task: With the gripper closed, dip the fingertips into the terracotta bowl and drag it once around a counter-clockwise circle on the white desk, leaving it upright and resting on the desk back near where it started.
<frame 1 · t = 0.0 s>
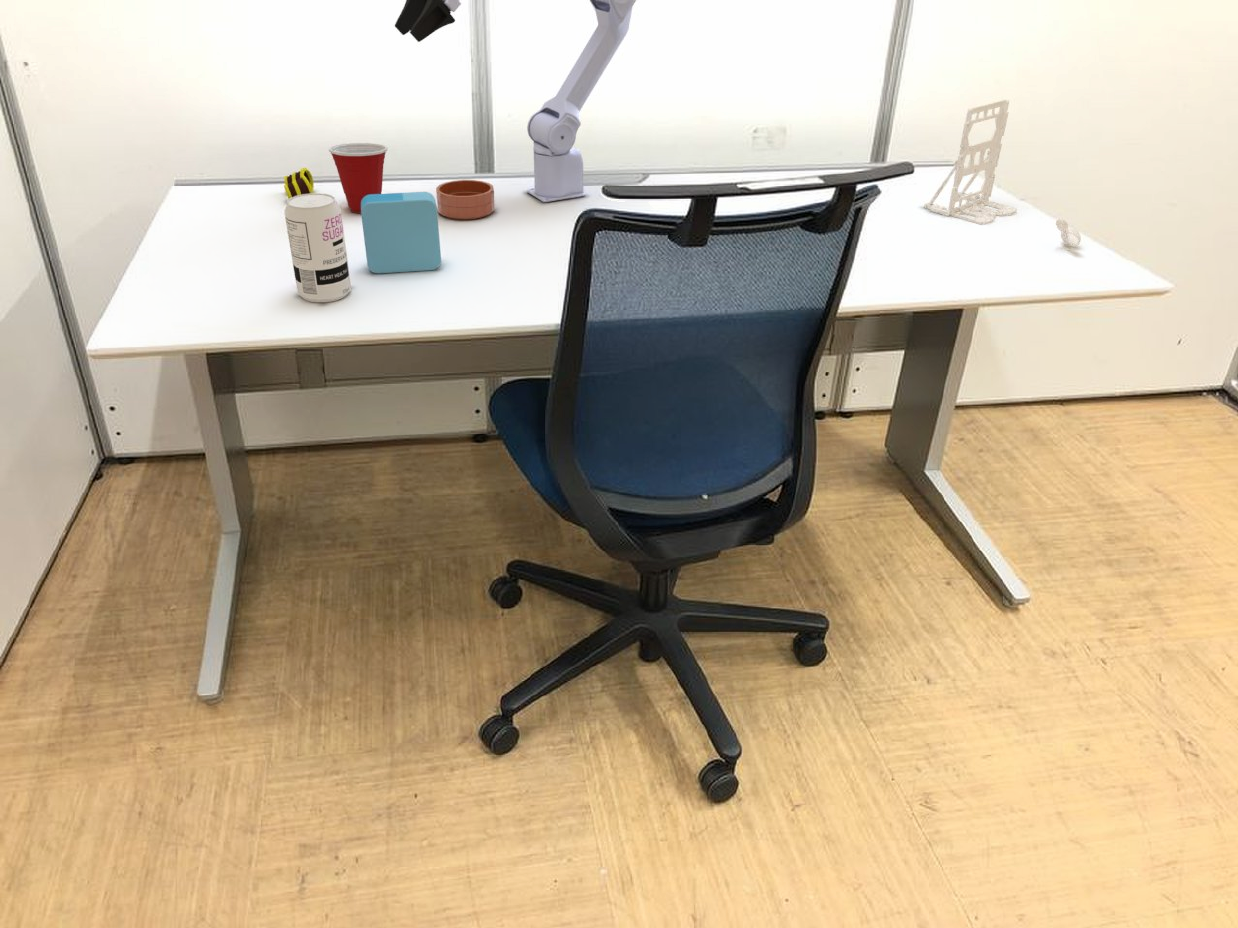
hand: (406, 34, 175), 32 cm above the table, tool tilted 50°, fingers open, 7 cm apart
opera glasses: (300, 198, 201), on the table
bowl: (466, 211, 195), on the table
rabbit figurine: (1064, 249, 182), on the table
light blue rounded block: (405, 268, 170), on the table
plastic cup: (365, 209, 195), on the table
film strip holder: (971, 211, 200), on the table
supplement can: (325, 295, 159), on the table
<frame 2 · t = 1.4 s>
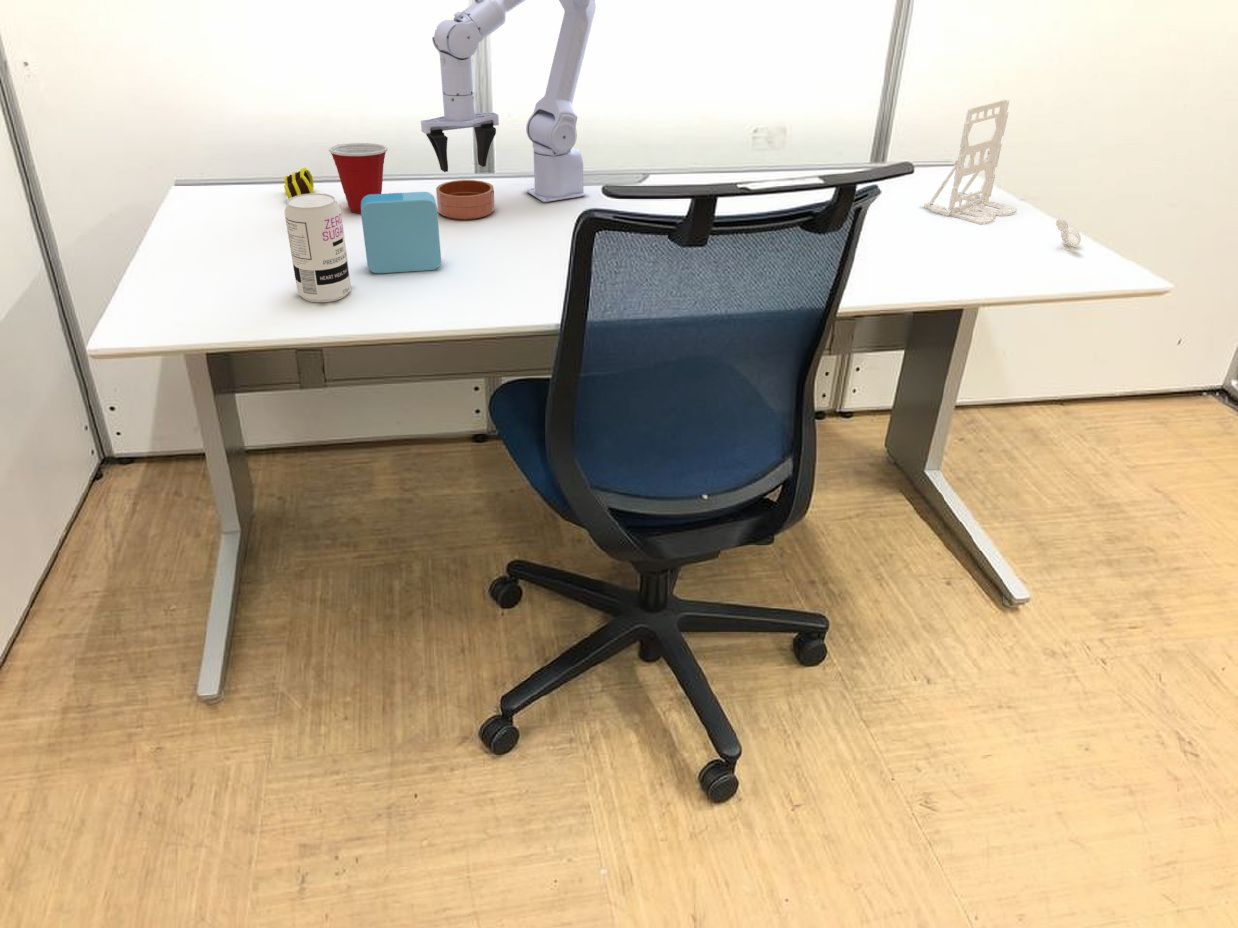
hand: (463, 168, 190), 8 cm above the table, tool pointing down, fingers open, 7 cm apart
nothing on the table moved.
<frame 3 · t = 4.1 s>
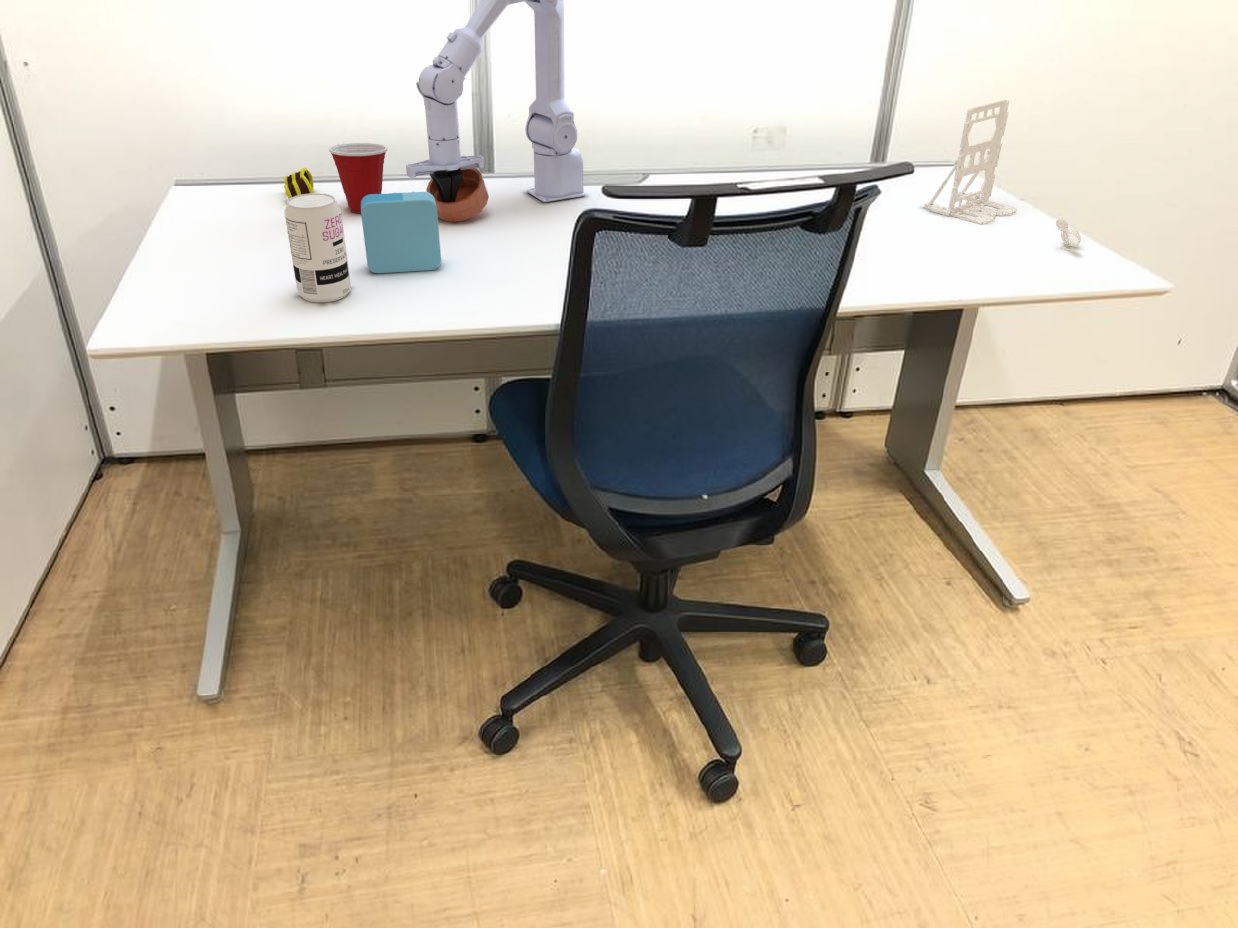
hand: (449, 210, 190), 2 cm above the table, tool pointing down, fingers closed, pressing on bowl
bowl: (461, 203, 192), point 2 cm above the table, tilted 26°, touching gripper
everything else where it was.
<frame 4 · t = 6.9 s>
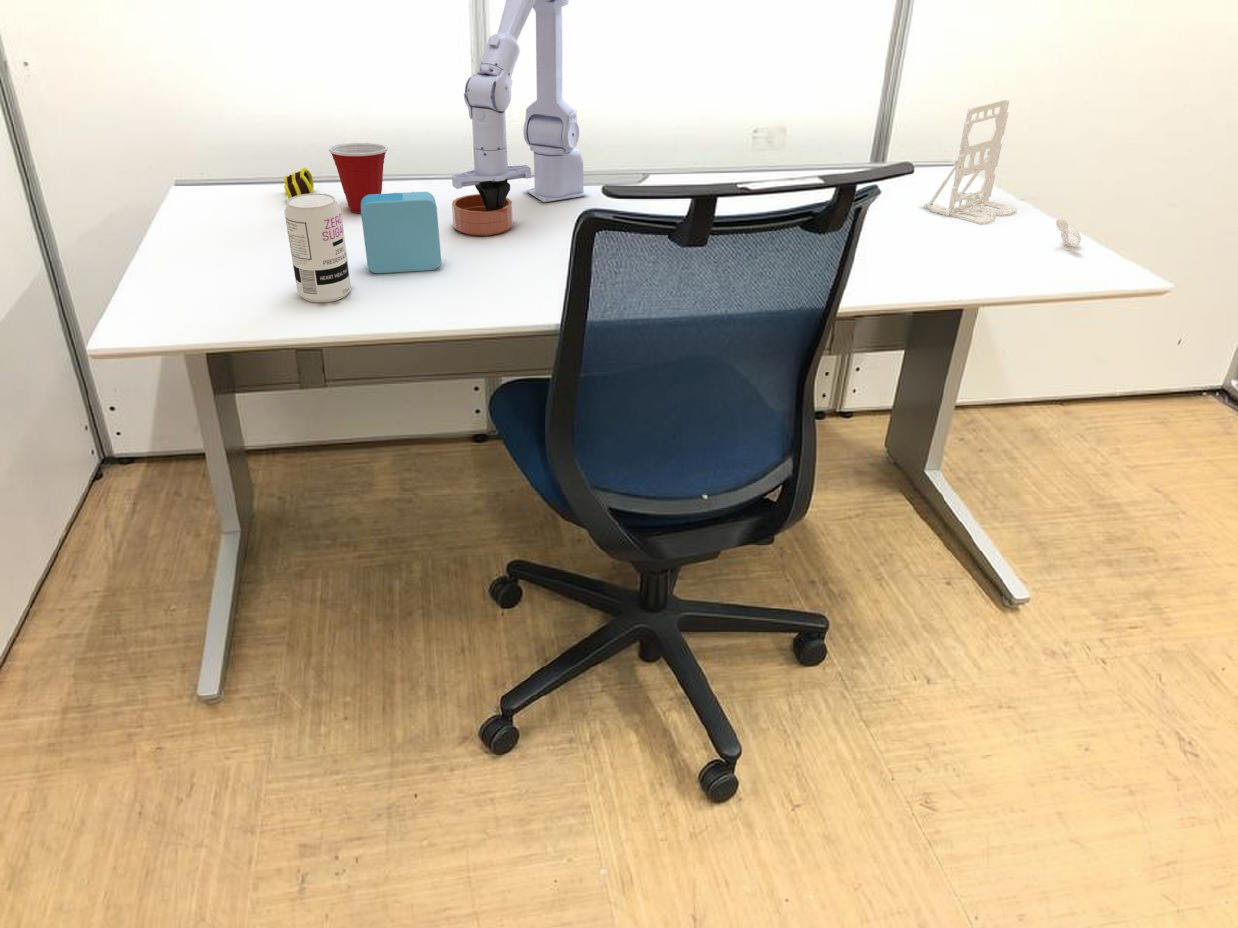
hand: (494, 221, 185), 2 cm above the table, tool pointing down, fingers closed
bowl: (483, 227, 187), on the table, touching gripper
everything else where it was.
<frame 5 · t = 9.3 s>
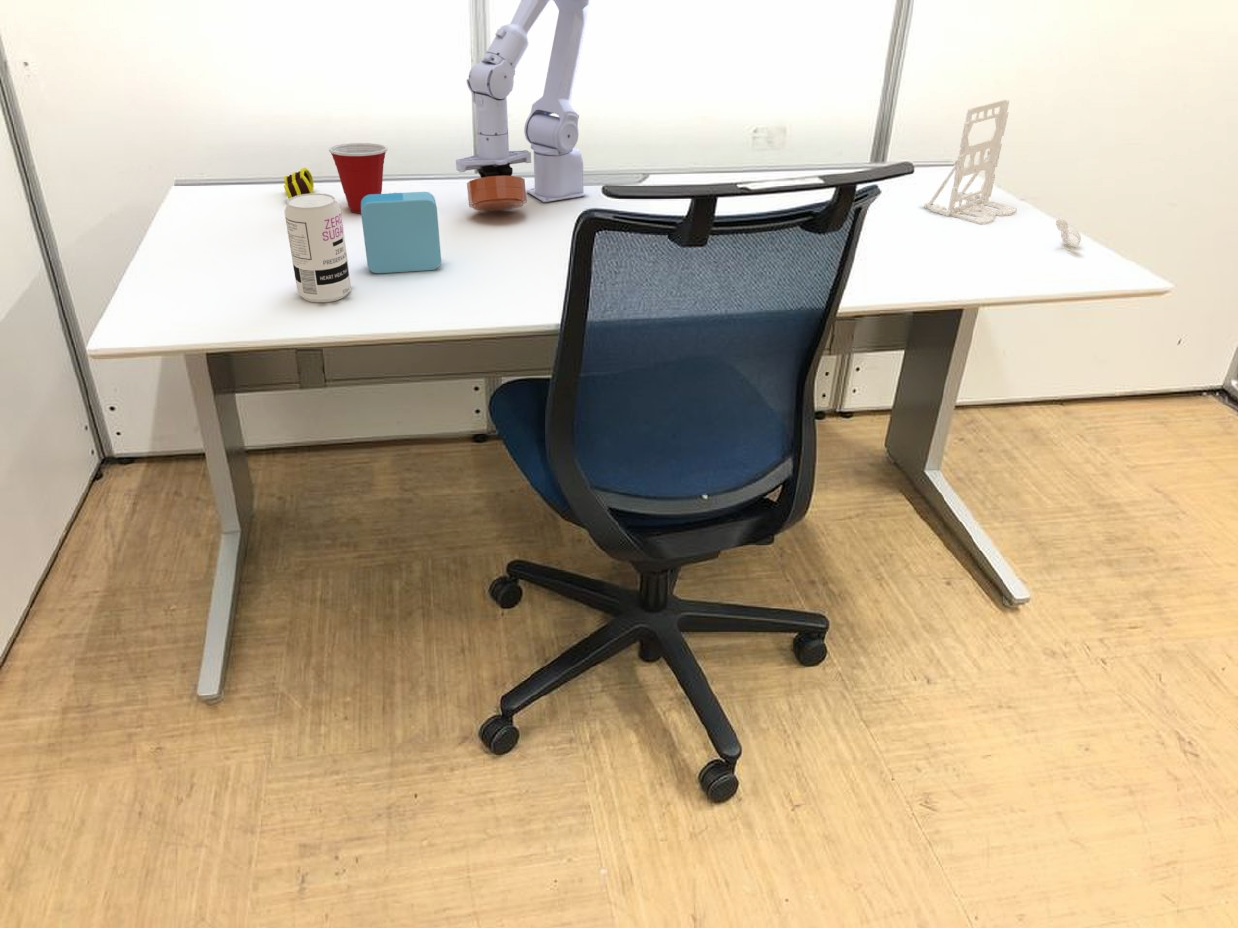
hand: (496, 204, 193), 2 cm above the table, tool pointing down, fingers closed, pressing on bowl
bowl: (498, 206, 191), point 2 cm above the table, tilted 28°, touching gripper
everything else where it was.
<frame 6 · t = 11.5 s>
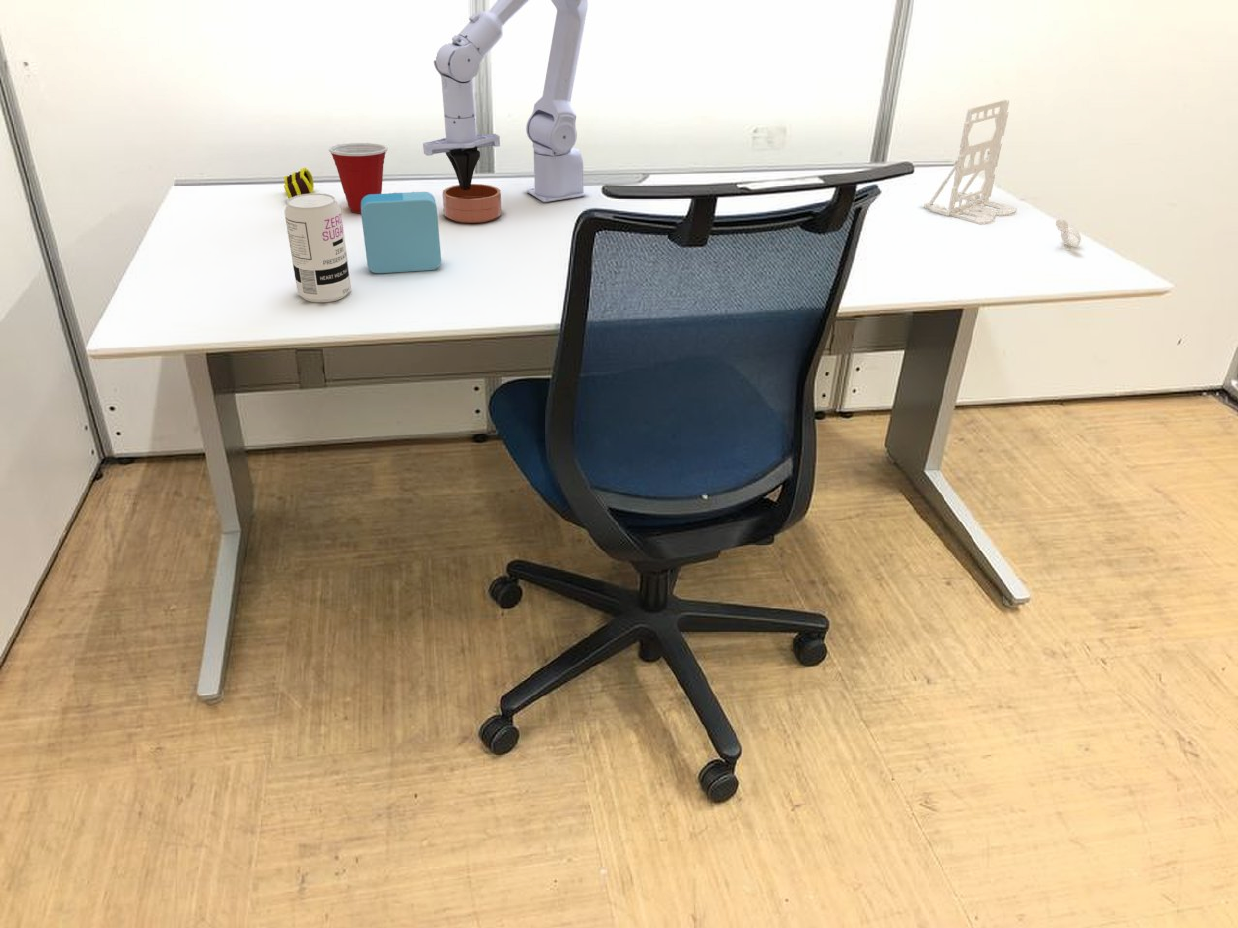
hand: (465, 188, 192), 5 cm above the table, tool pointing down, fingers closed
bowl: (472, 215, 193), on the table
everything else where it was.
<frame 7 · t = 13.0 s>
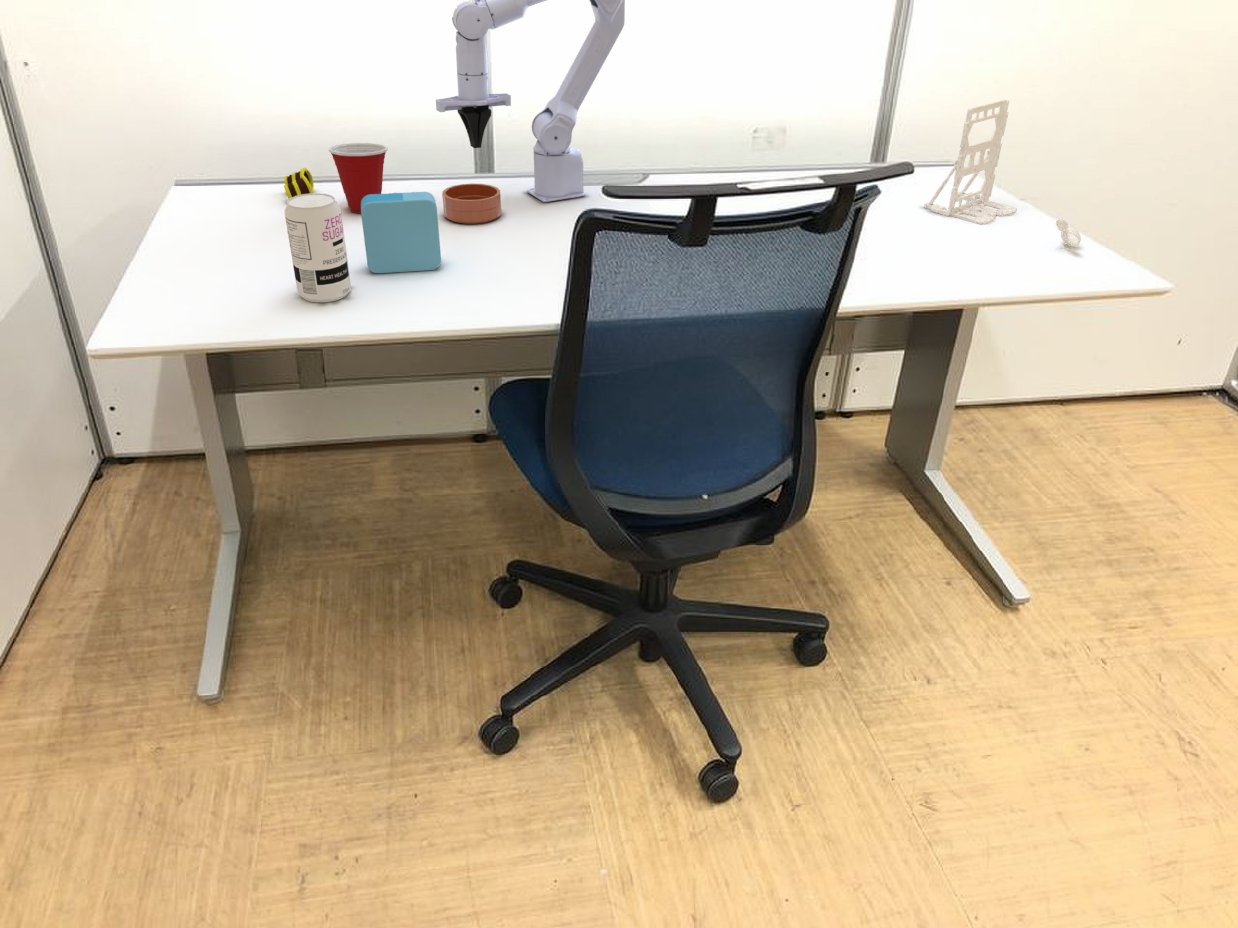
hand: (475, 146, 195), 10 cm above the table, tool pointing down, fingers closed
nothing on the table moved.
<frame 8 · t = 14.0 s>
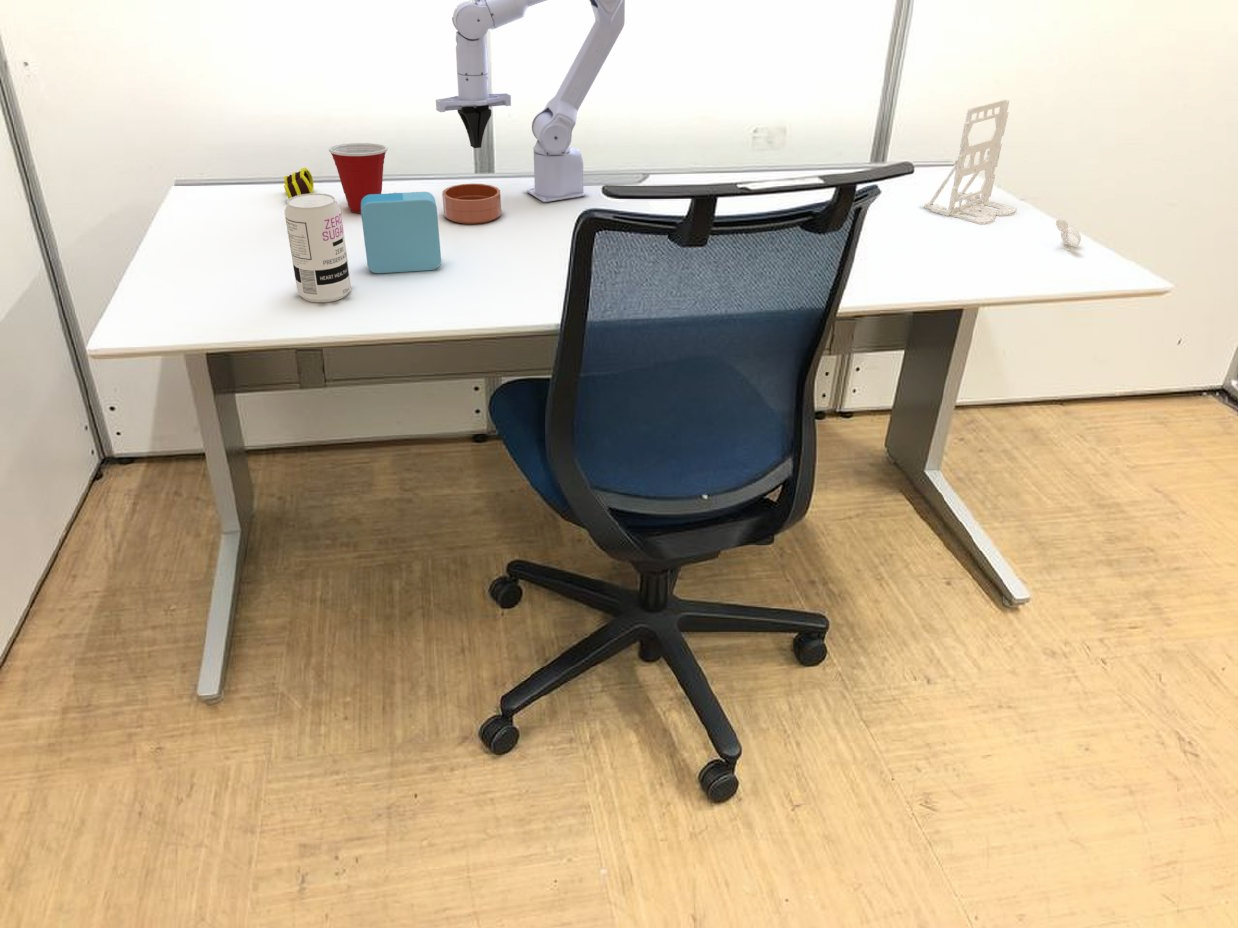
hand: (475, 146, 195), 10 cm above the table, tool pointing down, fingers closed
nothing on the table moved.
at the end: bowl inside the target area (1.9 cm from its centre), on the table; bowl tilted 0°; bowl touching table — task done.
